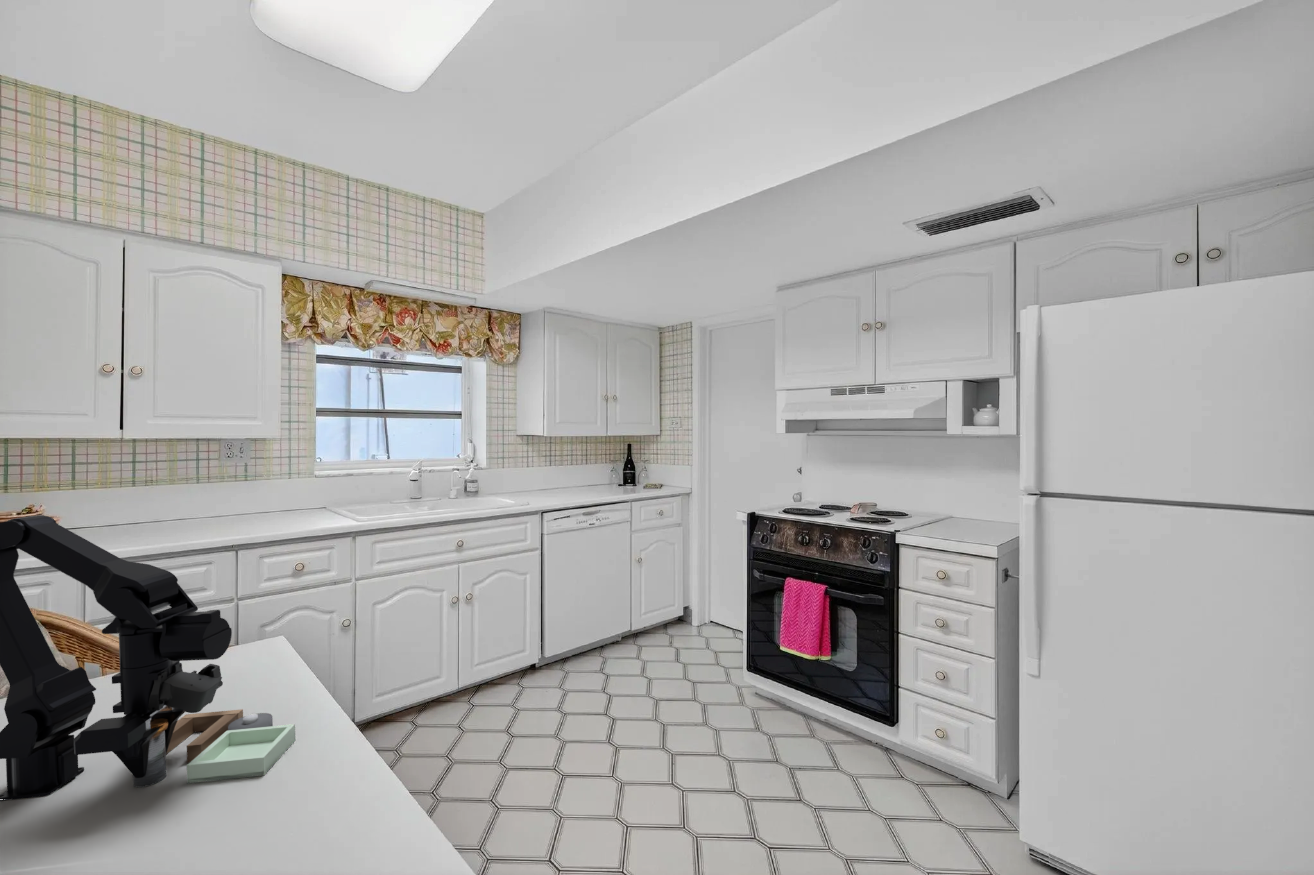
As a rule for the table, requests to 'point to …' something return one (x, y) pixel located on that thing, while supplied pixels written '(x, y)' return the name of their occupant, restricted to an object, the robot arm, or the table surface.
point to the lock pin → (155, 756)
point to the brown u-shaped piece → (199, 722)
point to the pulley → (252, 721)
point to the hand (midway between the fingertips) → (150, 769)
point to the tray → (241, 754)
